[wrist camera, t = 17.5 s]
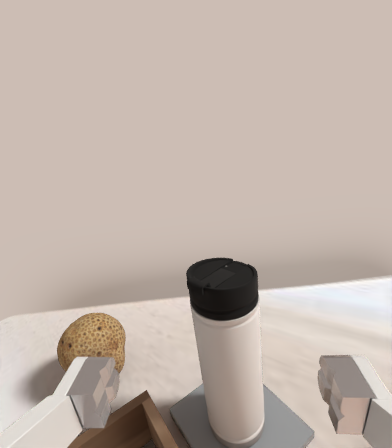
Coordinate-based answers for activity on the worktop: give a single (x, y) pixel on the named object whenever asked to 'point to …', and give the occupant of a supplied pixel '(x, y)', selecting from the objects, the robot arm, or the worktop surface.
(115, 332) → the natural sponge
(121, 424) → the wooden box
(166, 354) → the worktop surface
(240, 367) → the travel mug
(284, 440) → the mat
